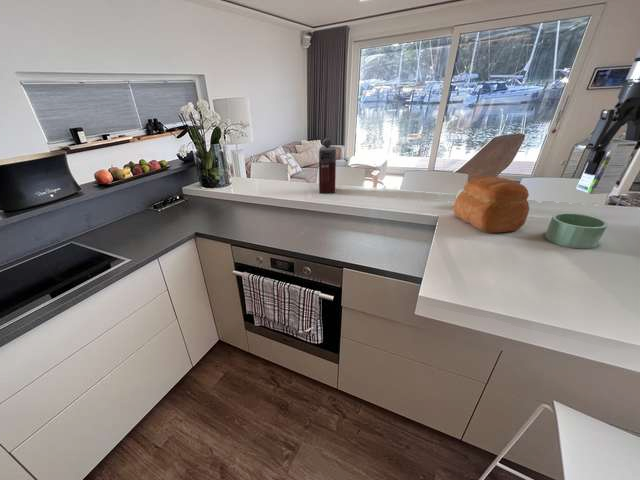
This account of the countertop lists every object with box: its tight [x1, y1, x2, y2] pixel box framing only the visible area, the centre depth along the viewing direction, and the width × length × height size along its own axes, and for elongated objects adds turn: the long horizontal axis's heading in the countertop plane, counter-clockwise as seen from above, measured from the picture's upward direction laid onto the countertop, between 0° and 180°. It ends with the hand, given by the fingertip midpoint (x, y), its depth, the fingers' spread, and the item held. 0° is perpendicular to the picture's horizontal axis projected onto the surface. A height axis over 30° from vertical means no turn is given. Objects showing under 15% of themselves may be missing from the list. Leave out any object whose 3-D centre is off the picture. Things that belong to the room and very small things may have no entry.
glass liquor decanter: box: [318, 138, 337, 195], centre depth 156 cm, size 9×11×28 cm
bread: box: [453, 175, 530, 234], centre depth 107 cm, size 18×21×17 cm
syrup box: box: [575, 138, 638, 195], centre depth 83 cm, size 6×6×14 cm
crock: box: [544, 212, 609, 250], centre depth 93 cm, size 13×13×7 cm
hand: (601, 173), depth 84 cm, fingers closed on syrup box, 6 cm apart
